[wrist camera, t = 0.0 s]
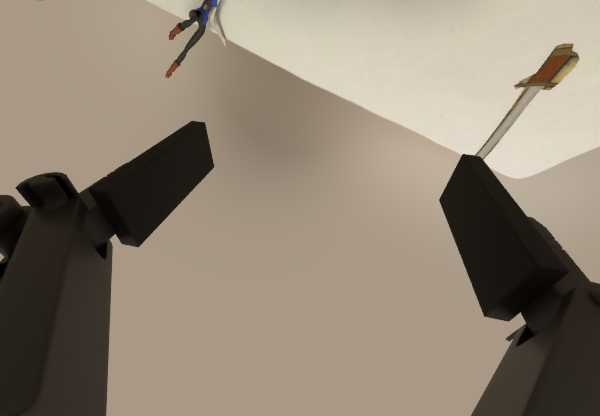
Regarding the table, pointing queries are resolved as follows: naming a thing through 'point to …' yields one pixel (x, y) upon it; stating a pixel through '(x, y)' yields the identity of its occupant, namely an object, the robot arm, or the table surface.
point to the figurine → (201, 18)
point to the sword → (534, 90)
